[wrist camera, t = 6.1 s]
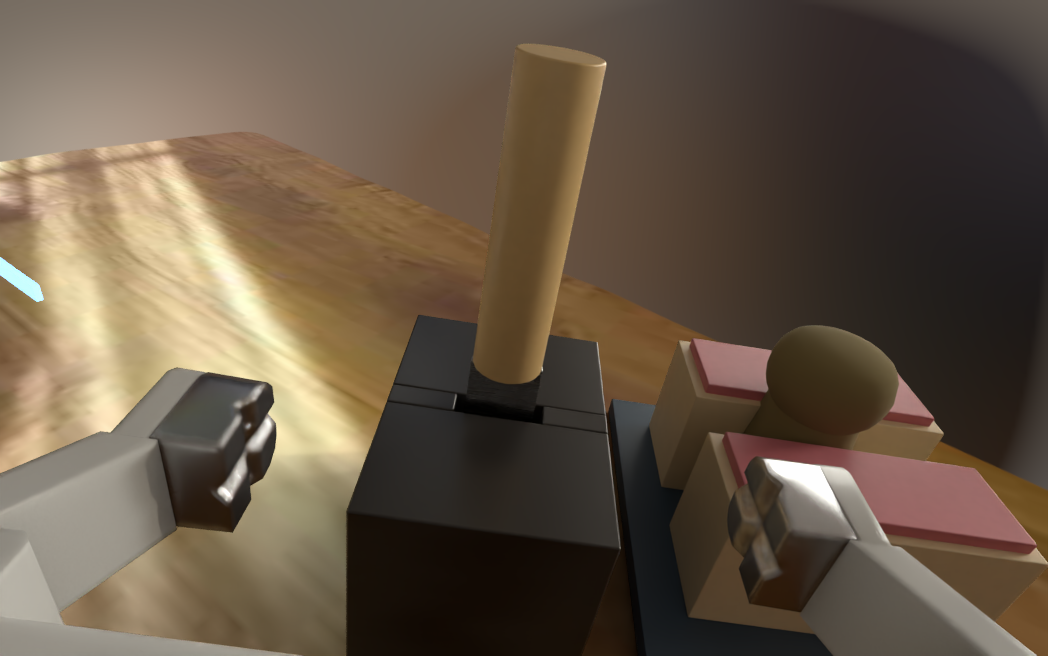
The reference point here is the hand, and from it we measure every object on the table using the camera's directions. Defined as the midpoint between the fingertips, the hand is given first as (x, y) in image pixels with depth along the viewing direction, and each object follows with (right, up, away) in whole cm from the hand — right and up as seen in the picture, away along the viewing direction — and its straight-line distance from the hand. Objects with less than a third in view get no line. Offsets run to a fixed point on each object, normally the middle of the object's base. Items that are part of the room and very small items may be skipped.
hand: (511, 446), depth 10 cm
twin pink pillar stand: (+13, -9, +21) cm, 26 cm away
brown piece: (+12, -8, +21) cm, 26 cm away
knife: (-2, -8, +17) cm, 19 cm away
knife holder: (-2, -8, +17) cm, 19 cm away
